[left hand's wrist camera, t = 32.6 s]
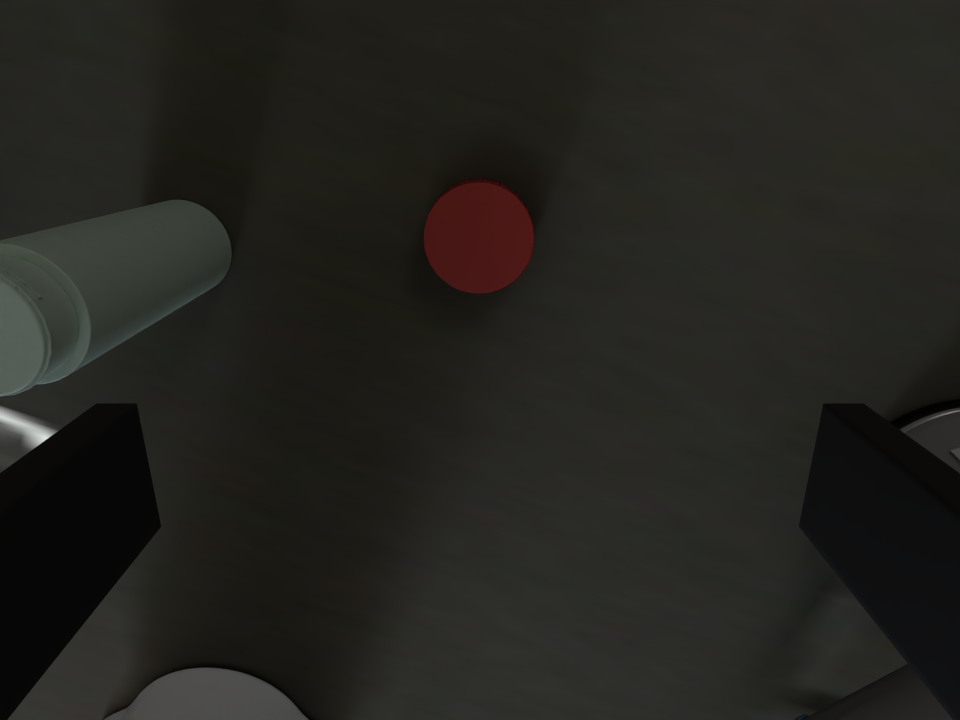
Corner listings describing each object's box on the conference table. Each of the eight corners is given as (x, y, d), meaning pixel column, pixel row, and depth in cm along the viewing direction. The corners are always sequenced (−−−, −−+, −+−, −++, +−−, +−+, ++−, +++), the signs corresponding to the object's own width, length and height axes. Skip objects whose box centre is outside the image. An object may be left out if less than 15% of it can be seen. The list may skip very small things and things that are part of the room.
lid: (515, 296, 39) (517, 306, 37) (415, 269, 39) (411, 278, 37) (544, 194, 37) (549, 198, 35) (440, 165, 37) (437, 167, 35)
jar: (217, 307, 40) (39, 429, 24) (127, 270, 39) (-119, 371, 23) (243, 223, 38) (71, 294, 22) (150, 183, 37) (-99, 227, 21)
